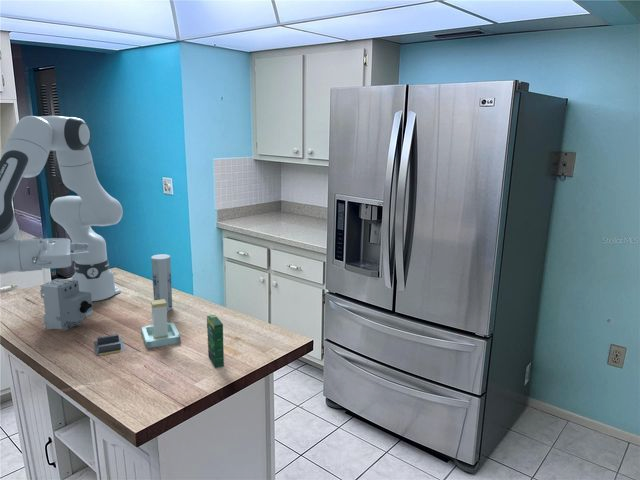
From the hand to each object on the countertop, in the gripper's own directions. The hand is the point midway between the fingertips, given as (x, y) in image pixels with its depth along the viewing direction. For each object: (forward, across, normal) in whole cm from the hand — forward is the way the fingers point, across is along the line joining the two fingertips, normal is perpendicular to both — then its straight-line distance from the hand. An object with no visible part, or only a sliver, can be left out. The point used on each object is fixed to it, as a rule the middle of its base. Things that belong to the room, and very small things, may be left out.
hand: (88, 250), depth 137 cm
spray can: (+23, +21, +30) cm, 43 cm away
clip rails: (+3, -4, +30) cm, 30 cm away
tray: (+18, -4, +30) cm, 35 cm away
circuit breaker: (-7, +17, +30) cm, 35 cm away
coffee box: (+30, -25, +30) cm, 49 cm away
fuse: (+18, -4, +29) cm, 35 cm away
